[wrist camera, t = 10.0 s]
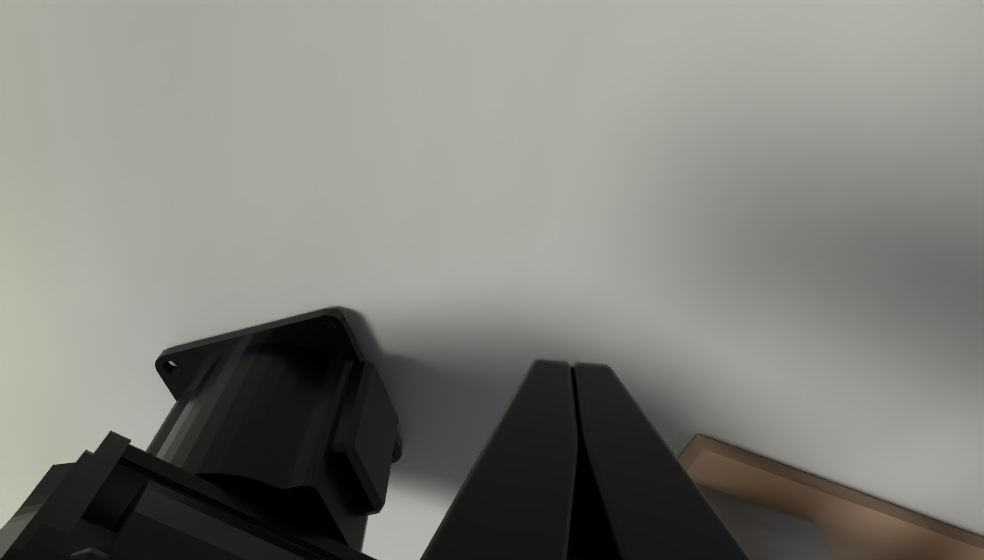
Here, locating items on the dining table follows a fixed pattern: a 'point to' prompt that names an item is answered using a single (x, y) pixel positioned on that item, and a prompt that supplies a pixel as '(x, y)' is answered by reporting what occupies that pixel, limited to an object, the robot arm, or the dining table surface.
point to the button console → (813, 513)
